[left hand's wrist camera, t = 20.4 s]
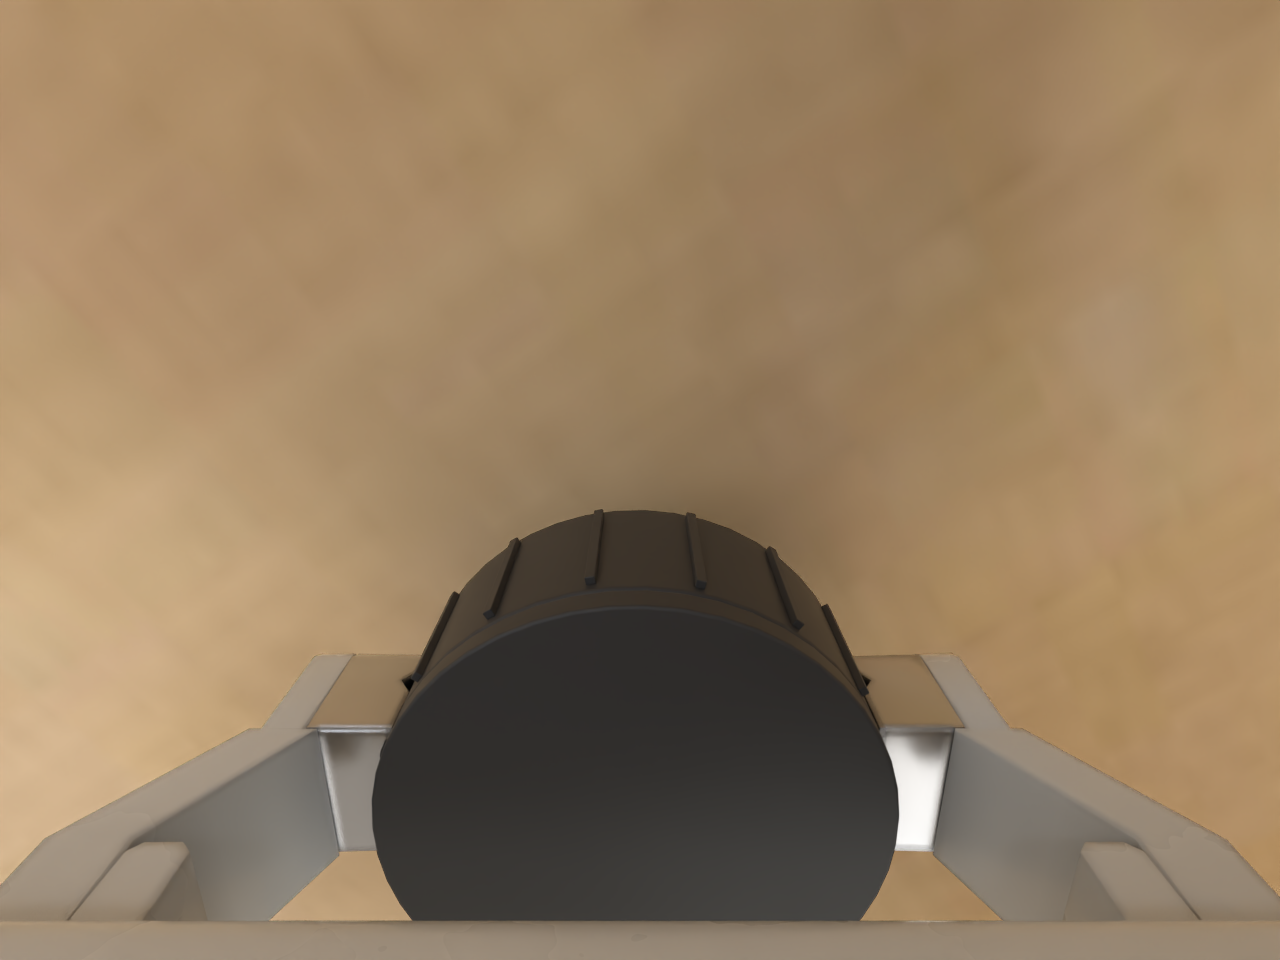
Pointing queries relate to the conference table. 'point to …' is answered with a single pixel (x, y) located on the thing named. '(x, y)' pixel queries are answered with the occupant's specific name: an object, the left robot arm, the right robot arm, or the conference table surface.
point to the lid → (635, 739)
